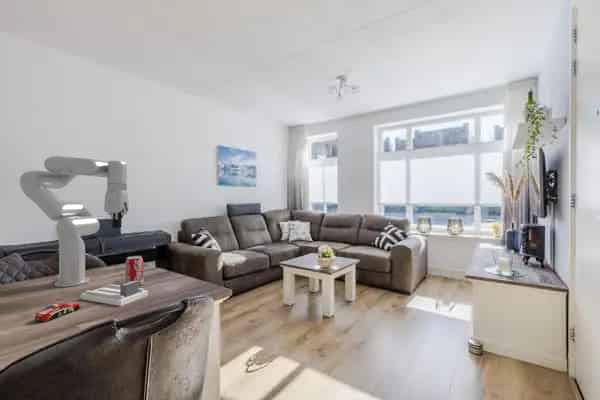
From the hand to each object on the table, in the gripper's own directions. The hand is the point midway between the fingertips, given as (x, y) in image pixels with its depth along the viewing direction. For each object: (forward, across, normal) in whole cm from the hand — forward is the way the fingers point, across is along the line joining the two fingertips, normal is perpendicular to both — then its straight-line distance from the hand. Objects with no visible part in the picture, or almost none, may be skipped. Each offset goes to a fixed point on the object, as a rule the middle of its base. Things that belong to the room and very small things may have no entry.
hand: (117, 227), depth 128 cm
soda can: (+27, +6, +4) cm, 28 cm away
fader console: (+27, +13, -11) cm, 32 cm away
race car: (+28, +11, -30) cm, 42 cm away
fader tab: (+25, +21, -11) cm, 34 cm away
